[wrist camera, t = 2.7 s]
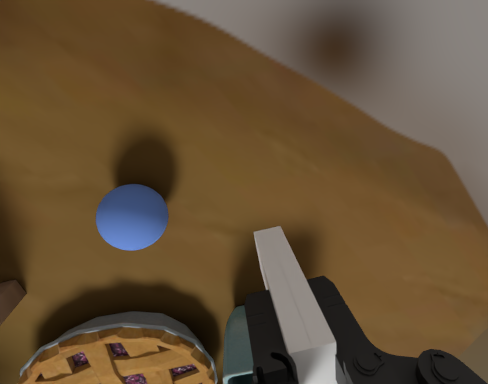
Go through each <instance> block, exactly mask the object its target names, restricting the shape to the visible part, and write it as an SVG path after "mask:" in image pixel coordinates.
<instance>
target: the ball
mask: <svg viewBox="0 0 488 384" xmlns="http://www.w3.org/2000/svg"><path fill="white" fill-rule="evenodd" d="M167 222H168V209H167V206H166V203H165V201H164V200H163V198H162V197H161V196H160V195H159V194H158V193H157V192H156V191H155V190H153V189H151V188H149V187H147V186H144V185H140V184H128V185H123V186H120V187H117V188H115V189H114V190H112V191H110V192H109V193H108V194H107V195H106V196H105V197H104V198H103V199H102V201H101V202H100V204H99V206H98V209H97V213H96V224H97V228H98V231H99V233H100V234H101V236H102V237H103V238H104V240H105V241H106V242H108V243H109V244H110V245H112V246H114V247H116V248H119V249H123V250H138V249H142V248H145V247H148V246H149V245H151V244H153V243H154V242H156V241H157V240H158V239H159V238H160V237H161V235H162V234H163V232H164V231H165V229H166V226H167Z"/></svg>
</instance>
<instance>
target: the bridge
mask: <svg viewBox="0 0 488 384" xmlns="http://www.w3.org/2000/svg"><path fill="white" fill-rule="evenodd" d="M26 294H27V293H26V292H25V291H24V290H23V288H22V287H21V286H20V284H19V283H18V282H17V281H16V279H15V280H11V281H7V282H2V283H0V325H1V324H2V323H3V322H4V320H5V319H6V318H7V317H8V315H9V314H10V313H11V312H12V311H13V309H14V308H15V307H16V306H17V305H18V303H19V302H20V301H21V300H22V299H23V297H24V296H25V295H26Z"/></svg>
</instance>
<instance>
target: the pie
mask: <svg viewBox="0 0 488 384" xmlns="http://www.w3.org/2000/svg"><path fill="white" fill-rule="evenodd" d="M79 334H80V335H79ZM217 381H218V379H217V374H216V369H215V364H214V360H213V358H212V357H211V356H210V355H209V354H208V353H207V352H206V351H205V349H204V347H203V345H202V343H201V342H200V341H199V339H198V338H197V337H196V336H195V335H194V334H193V333H192V332H191V331H190V329H189V328H188V327H187V326H186V325H185V324H183V323H181V322H179V321H177V320H175V319H173V318H171V317H169V316H167V315H165V314H163V313H151V312H137V311H131V312H124V313H118V314H112V315H106V316H100V317H96V318H94V319H92V320H90V321H87V322H85V323H83V324H81V325H79V326H76V327H74V328H72V329H70V330H68V331H66V332H65V333H64V334H62V335H61V336H60V337H59V338H57V339H56V340H55V341H53V342H51V343H49V344H46V345H44V346H42V347H40V349H39V350H38V351H37V352H36V353H35V354H34V355H33V356H32V357H31V358H30V359H29V361H28V362H27V363H26V364H25V365H24V366H23V367H22V368H21V369H20V379H19V381H18V384H217Z"/></svg>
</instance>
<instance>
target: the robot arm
mask: <svg viewBox="0 0 488 384" xmlns="http://www.w3.org/2000/svg"><path fill="white" fill-rule="evenodd" d="M254 237H255V243H256V248H257V253H258V258H259V263H260V269H261V272H262V276H263V280H264V283H265V287H266V290H264V291H260V292H256V293H251V294H247V297H246V301H245V304H244V307H245V314H246V320H247V326H248V333H249V339H250V345H251V351H252V358H253V364H254V365H253V374H252V377H253V379H252V382H251V384H337V383H338V384H487V383H486V382H485V381H484V380H483V379H481V378H480V377H479V376H478V375H477V374H475V373H474V372H473V371H472V370H471V369H470V368H469V367H467V366H466V365H465V364H464V363H463V362H461V361H460V360H459V359H457V358H456V357H454V356H453V355H451V354H449V353H446V352H444V351H441V350H434V349H429V350H426V351H423V352H422V353H421V355H420V356H419V357H418V358H414V357H404V356H396V355H391V354H388V353H385V352H383V351H381V350H380V349H378V348H376V347H375V346H374V345H373V344H372V343H371V342H370V341H369V340H368V339H367V337H366V336H365V334H364V332H363V331H362V329H361V328H360V326H359V324H358V323H357V321H356V319H355V318H354V316H353V314H352V313H351V311H350V309H349V308H348V306H347V305H346V304H345V301H344V300H343V298H342V296H340V293H339V291H338V290H337V288H336V286H335V285H334V283H333V282H331V281H330V280H329V279H327V278H326V277H325V276H320V277H316V278H312V279H308V280H306V278H305V276H304V274H303V272H302V270H301V268H300V266H299V264H298V262H297V260H296V258H295V256H294V254H293V251H292V249H291V247H290V245H289V243H288V241H287V239H286V237H285V235H284V233H283V231H282V229H281V227H280V226H278V227H273V228H269V229H265V230H260V231H256V232H254Z"/></svg>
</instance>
